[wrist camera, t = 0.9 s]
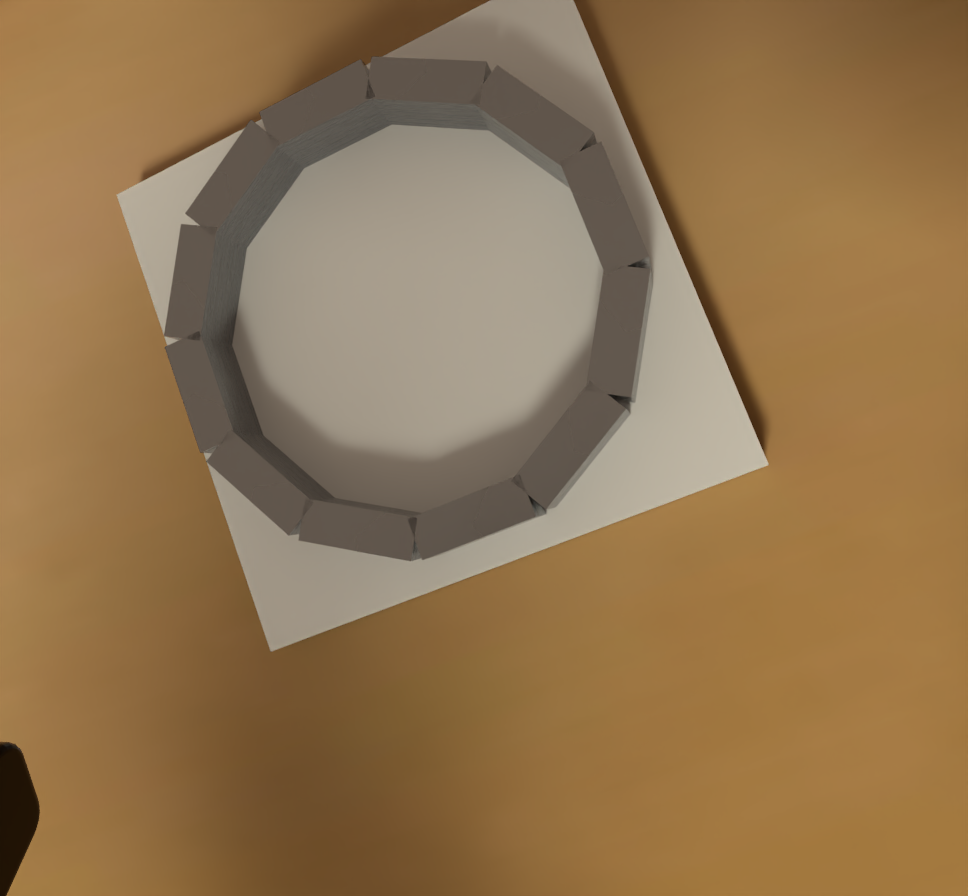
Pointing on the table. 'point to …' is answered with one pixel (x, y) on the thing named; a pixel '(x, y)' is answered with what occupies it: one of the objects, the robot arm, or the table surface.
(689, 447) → the flange plate
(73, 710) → the table surface
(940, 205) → the table surface
